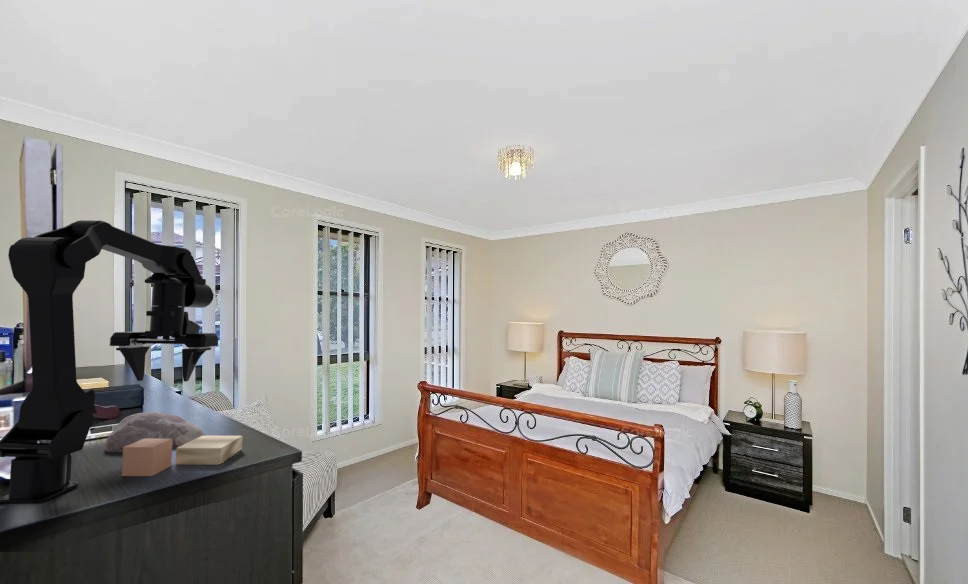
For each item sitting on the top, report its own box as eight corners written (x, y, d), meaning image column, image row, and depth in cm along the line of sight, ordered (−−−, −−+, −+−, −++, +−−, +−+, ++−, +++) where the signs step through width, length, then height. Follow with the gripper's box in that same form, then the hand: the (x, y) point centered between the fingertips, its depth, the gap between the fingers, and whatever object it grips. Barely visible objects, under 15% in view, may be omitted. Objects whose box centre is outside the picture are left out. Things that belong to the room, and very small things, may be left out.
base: (220, 464, 81) (220, 448, 81) (175, 464, 81) (176, 448, 81) (241, 450, 89) (242, 435, 89) (201, 450, 89) (202, 435, 89)
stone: (204, 464, 97) (209, 424, 103) (200, 441, 91) (207, 400, 97) (106, 475, 89) (119, 431, 96) (95, 451, 83) (110, 406, 90)
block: (151, 476, 75) (153, 447, 75) (121, 476, 75) (123, 447, 75) (171, 466, 80) (172, 438, 80) (142, 466, 80) (144, 438, 80)
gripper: (233, 308, 101) (229, 376, 100) (148, 306, 100) (144, 375, 99) (205, 307, 90) (200, 383, 89) (110, 305, 89) (104, 382, 88)
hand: (163, 381), depth 91 cm, fingers open, 9 cm apart
